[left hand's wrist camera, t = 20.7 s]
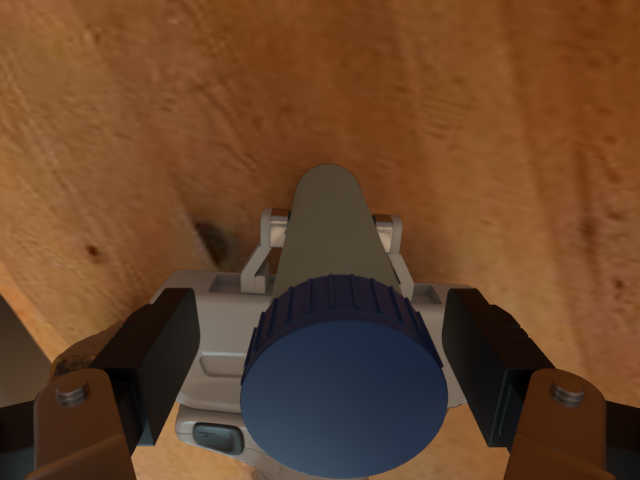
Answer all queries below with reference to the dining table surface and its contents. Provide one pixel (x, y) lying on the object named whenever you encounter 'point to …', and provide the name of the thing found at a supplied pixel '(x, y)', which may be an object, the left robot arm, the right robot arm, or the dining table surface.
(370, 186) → the dining table surface
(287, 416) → the lid
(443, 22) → the dining table surface
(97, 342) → the decorative rock
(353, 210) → the green bottle
